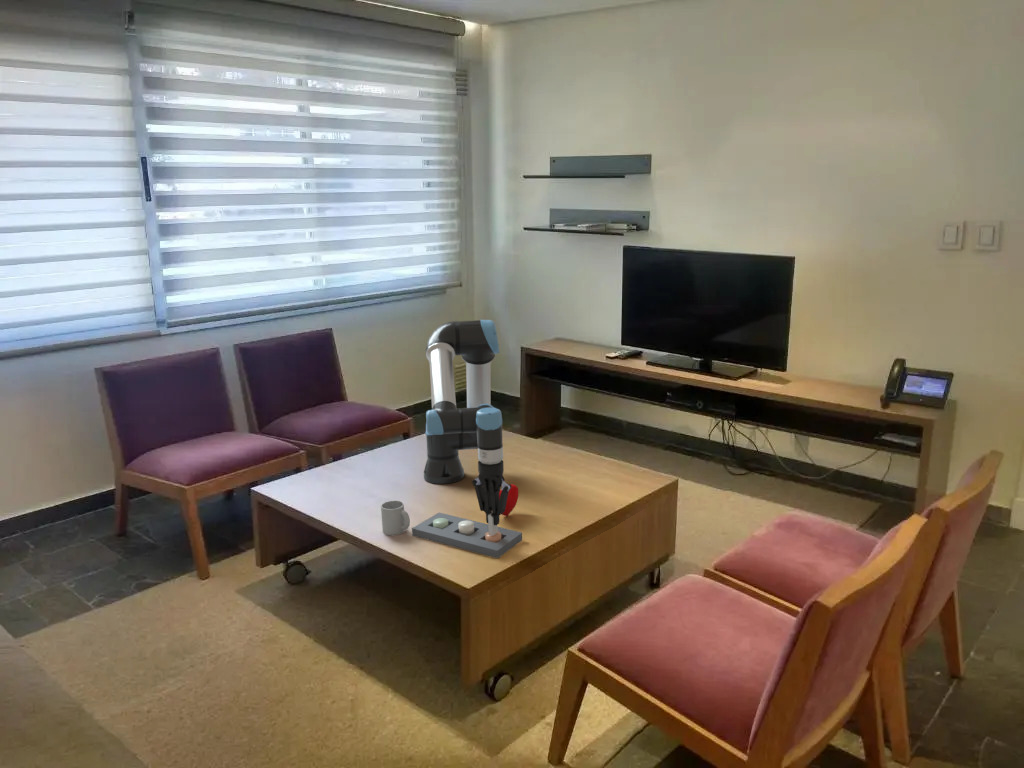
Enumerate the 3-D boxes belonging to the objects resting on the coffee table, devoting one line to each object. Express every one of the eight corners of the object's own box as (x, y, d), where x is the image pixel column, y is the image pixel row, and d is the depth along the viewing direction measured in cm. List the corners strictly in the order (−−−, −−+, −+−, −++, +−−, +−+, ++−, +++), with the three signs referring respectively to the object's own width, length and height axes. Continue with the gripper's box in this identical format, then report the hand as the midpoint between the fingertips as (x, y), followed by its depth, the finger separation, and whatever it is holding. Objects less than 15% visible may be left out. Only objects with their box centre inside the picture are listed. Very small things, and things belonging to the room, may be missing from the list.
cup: (392, 524, 258) (390, 498, 256) (417, 530, 253) (415, 504, 251) (378, 533, 252) (376, 506, 250) (402, 539, 247) (401, 512, 245)
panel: (412, 535, 250) (411, 528, 249) (439, 519, 261) (438, 512, 261) (497, 558, 233) (497, 550, 233) (522, 540, 245) (522, 532, 244)
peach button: (482, 544, 241) (482, 535, 240) (491, 538, 245) (491, 529, 244) (495, 548, 239) (495, 539, 238) (504, 542, 243) (504, 533, 242)
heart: (504, 524, 256) (503, 495, 254) (490, 520, 259) (489, 492, 257) (522, 511, 266) (522, 483, 263) (509, 508, 269) (508, 480, 266)
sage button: (430, 531, 252) (429, 522, 251) (439, 525, 256) (439, 517, 255) (442, 534, 249) (442, 525, 248) (451, 528, 253) (451, 519, 252)
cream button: (455, 533, 246) (455, 525, 245) (464, 528, 250) (464, 519, 249) (468, 537, 244) (468, 528, 243) (477, 531, 248) (476, 522, 247)
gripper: (465, 460, 236) (468, 534, 241) (502, 467, 229) (504, 543, 235) (479, 453, 242) (482, 524, 248) (516, 459, 235) (518, 533, 241)
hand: (493, 533), depth 241 cm, fingers closed
